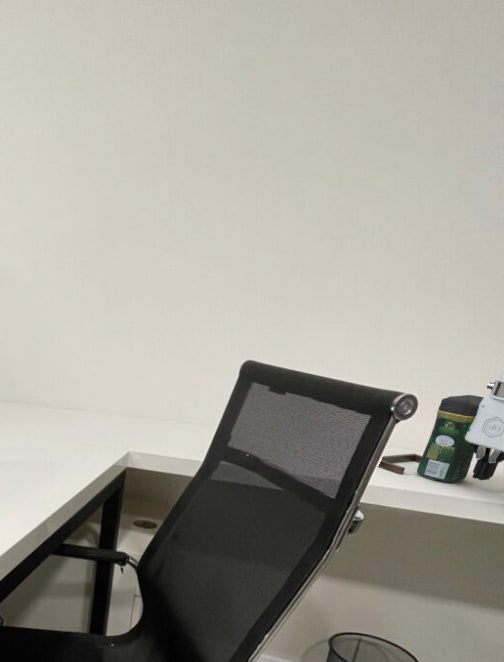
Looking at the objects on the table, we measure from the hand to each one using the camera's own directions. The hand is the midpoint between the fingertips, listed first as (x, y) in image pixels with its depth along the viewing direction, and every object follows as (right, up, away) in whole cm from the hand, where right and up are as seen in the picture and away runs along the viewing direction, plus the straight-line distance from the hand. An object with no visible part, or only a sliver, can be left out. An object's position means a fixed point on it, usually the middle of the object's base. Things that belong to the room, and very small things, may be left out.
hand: (480, 478), depth 117 cm
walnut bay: (-6, +3, +14) cm, 15 cm away
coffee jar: (-3, 0, +8) cm, 8 cm away
